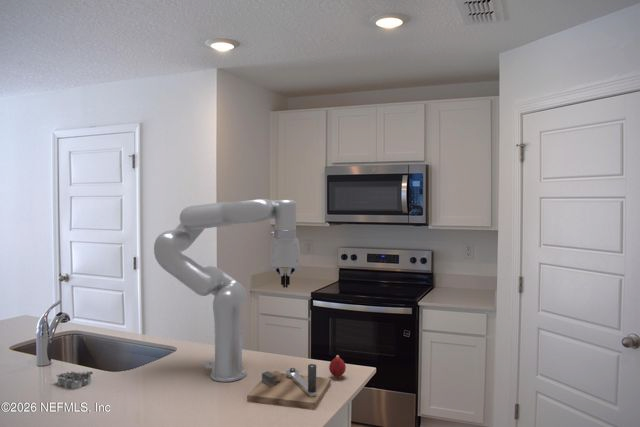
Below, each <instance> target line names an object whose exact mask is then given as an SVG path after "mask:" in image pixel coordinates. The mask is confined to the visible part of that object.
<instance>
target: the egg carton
mask: <svg viewBox="0 0 640 427" xmlns="http://www.w3.org/2000/svg"><path fill="white" fill-rule="evenodd" d="M93 374H94V372H92V371H86V372H81V371H77V372H75V371H73V370H71V371H70V372H69V371H67V372H63V373H61V372H60V374H56V375H55V376H56V378H57V386H59V387H61V386H64V388H71V390H78V389H81V388H83V386H89V385H91V382H92V377H91V376H92V375H93Z"/></svg>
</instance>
